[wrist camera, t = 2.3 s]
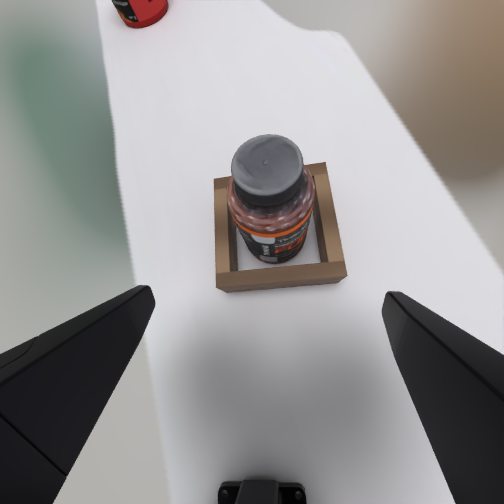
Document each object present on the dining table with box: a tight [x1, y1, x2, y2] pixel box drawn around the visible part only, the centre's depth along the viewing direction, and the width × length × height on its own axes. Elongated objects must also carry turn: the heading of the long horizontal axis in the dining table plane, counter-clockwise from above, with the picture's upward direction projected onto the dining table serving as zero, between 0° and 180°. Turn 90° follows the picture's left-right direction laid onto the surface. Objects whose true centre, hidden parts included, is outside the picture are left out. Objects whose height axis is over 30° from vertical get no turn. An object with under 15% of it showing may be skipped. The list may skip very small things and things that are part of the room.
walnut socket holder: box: [214, 162, 347, 293], centre depth 21 cm, size 10×10×4 cm
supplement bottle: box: [226, 134, 315, 263], centre depth 18 cm, size 6×6×11 cm
